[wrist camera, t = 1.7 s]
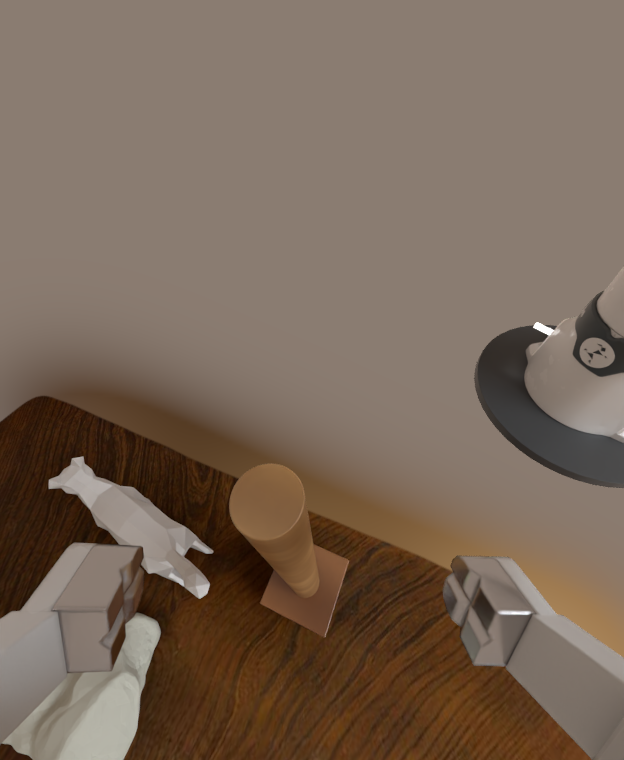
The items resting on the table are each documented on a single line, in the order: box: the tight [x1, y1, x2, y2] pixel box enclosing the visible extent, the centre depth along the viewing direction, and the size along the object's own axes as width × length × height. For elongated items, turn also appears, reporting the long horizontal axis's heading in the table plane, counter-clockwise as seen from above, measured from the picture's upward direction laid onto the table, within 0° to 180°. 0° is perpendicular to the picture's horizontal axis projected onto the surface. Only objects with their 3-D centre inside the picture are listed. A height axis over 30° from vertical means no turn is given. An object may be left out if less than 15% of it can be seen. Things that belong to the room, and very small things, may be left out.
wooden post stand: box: [229, 464, 349, 638], centre depth 22 cm, size 6×6×28 cm
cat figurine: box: [49, 457, 214, 599], centre depth 31 cm, size 4×20×14 cm, turn 58°
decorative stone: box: [2, 613, 161, 760], centre depth 27 cm, size 11×9×10 cm
